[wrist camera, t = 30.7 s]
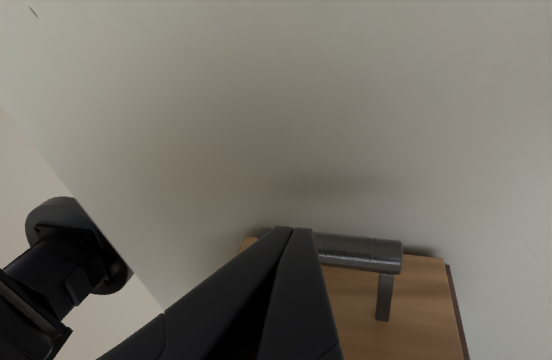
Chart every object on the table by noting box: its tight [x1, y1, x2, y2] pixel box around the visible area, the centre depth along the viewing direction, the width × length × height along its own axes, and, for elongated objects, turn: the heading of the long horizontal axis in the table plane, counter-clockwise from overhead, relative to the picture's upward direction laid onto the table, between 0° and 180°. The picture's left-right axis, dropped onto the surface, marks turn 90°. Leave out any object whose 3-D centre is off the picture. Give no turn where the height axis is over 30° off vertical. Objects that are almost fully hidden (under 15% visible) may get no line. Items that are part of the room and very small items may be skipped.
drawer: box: [237, 227, 464, 360], centre depth 20 cm, size 18×11×7 cm, turn 4°
